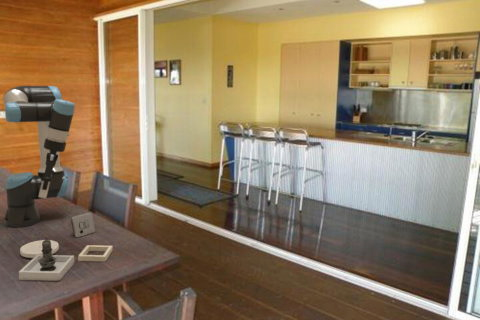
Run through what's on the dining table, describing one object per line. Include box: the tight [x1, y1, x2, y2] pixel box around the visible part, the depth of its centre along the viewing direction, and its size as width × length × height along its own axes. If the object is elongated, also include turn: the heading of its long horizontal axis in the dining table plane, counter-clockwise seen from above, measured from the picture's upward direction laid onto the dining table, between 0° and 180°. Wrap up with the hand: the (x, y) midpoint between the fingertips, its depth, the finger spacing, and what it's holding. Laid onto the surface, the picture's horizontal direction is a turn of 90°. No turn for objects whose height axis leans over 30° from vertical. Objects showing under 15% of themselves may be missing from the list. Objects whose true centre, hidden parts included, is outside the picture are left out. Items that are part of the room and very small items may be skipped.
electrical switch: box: [70, 212, 96, 238], centre depth 185 cm, size 9×5×9 cm, turn 141°
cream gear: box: [19, 239, 60, 259], centre depth 166 cm, size 14×14×2 cm
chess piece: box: [39, 237, 56, 271], centre depth 149 cm, size 6×6×12 cm
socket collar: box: [77, 244, 114, 262], centre depth 164 cm, size 10×10×2 cm
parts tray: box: [18, 254, 75, 282], centre depth 150 cm, size 14×14×3 cm
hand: (43, 192), depth 159 cm, fingers open, 13 cm apart
